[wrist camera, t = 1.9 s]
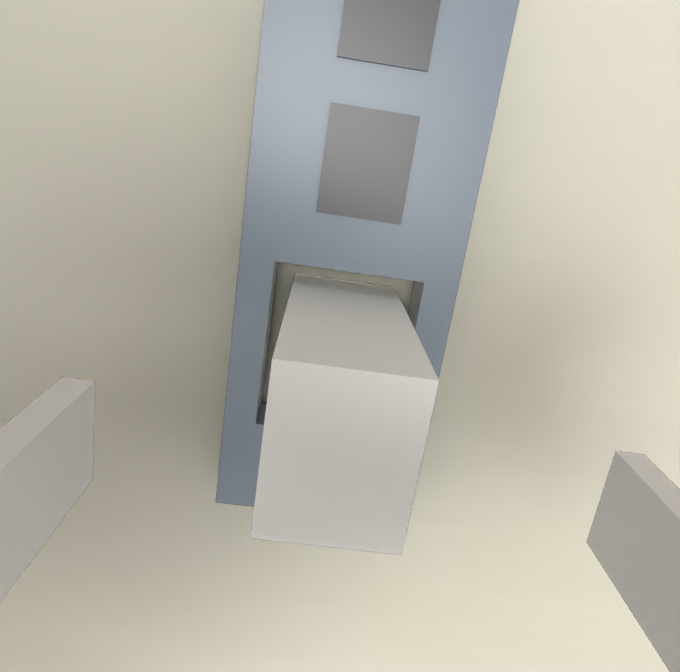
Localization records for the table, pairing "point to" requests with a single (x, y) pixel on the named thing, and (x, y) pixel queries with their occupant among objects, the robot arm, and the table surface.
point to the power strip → (359, 170)
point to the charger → (343, 419)
